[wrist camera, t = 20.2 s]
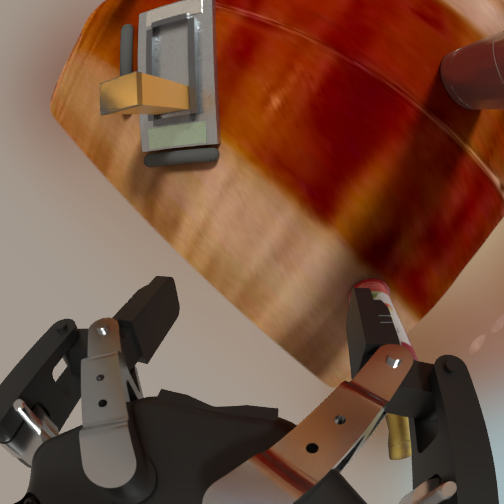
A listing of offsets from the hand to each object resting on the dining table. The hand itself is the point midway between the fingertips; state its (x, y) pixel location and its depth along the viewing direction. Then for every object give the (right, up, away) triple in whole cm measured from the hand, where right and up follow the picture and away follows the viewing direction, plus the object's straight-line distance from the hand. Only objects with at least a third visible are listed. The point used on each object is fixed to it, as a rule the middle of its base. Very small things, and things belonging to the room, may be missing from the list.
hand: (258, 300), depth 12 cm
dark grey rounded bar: (-10, +16, +26) cm, 33 cm away
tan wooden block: (-11, +23, +21) cm, 33 cm away
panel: (-11, +28, +21) cm, 37 cm away
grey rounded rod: (-20, +31, +21) cm, 43 cm away
